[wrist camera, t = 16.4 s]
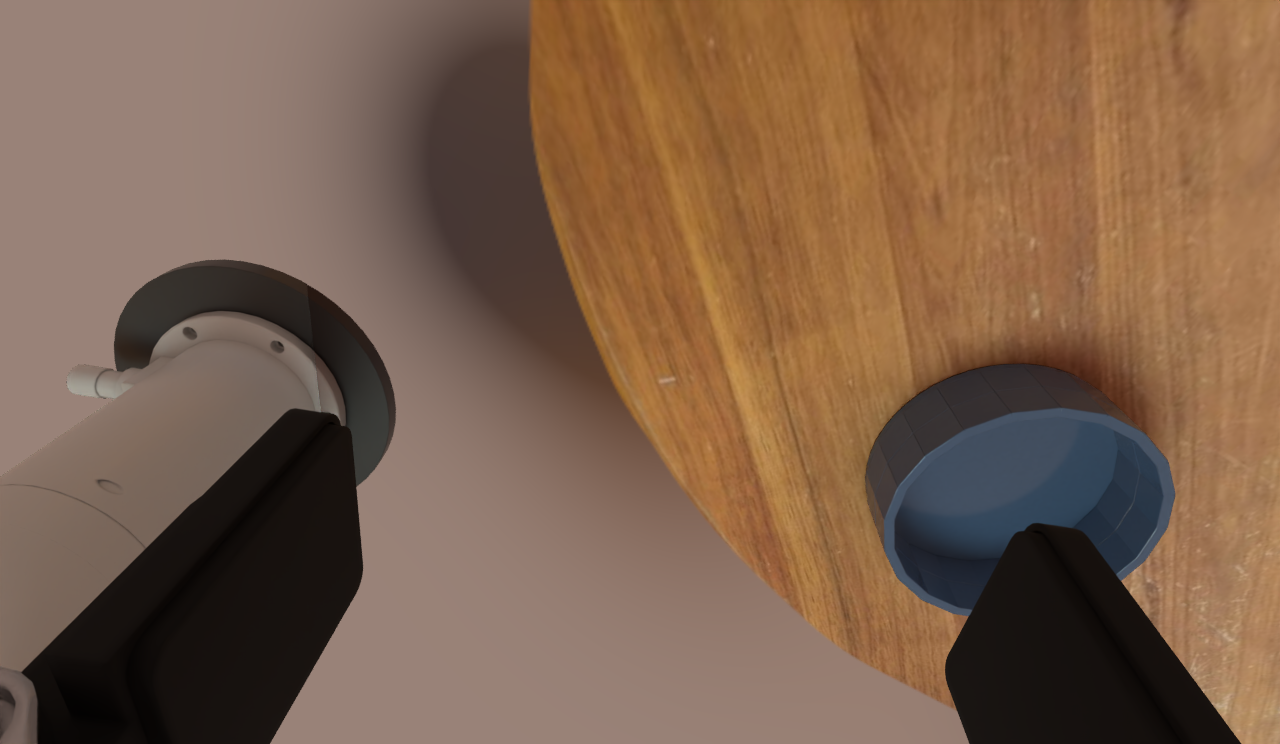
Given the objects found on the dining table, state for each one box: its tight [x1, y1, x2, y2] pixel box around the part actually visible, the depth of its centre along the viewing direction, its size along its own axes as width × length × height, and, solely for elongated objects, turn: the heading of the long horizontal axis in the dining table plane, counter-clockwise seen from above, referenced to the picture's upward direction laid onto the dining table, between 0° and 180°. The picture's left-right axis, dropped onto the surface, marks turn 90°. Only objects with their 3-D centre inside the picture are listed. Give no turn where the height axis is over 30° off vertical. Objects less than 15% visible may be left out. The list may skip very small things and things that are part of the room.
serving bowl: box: [865, 364, 1175, 616], centre depth 40 cm, size 15×15×5 cm
